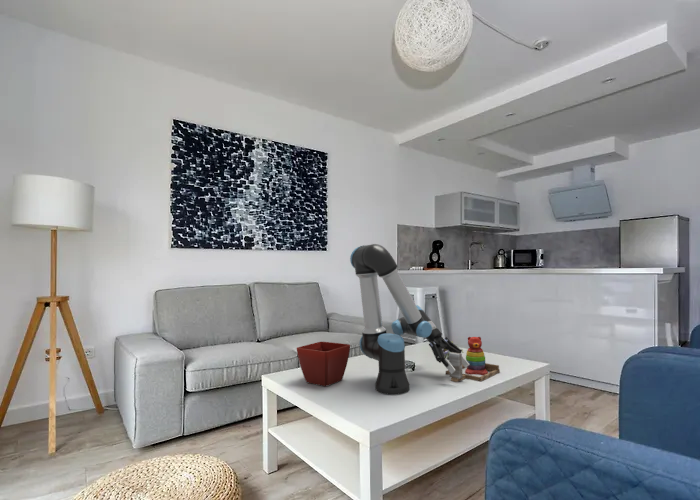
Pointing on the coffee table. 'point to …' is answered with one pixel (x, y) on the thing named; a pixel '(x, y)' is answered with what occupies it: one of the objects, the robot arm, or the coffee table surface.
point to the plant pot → (323, 362)
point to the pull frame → (457, 364)
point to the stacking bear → (475, 357)
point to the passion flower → (447, 352)
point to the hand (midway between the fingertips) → (460, 369)
